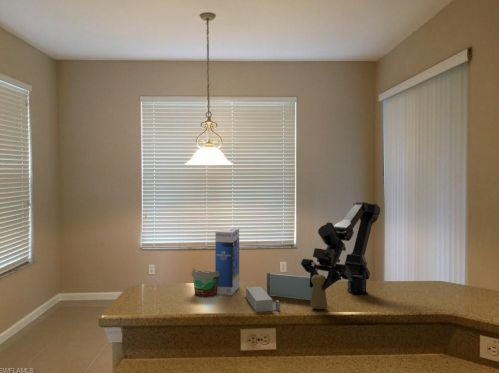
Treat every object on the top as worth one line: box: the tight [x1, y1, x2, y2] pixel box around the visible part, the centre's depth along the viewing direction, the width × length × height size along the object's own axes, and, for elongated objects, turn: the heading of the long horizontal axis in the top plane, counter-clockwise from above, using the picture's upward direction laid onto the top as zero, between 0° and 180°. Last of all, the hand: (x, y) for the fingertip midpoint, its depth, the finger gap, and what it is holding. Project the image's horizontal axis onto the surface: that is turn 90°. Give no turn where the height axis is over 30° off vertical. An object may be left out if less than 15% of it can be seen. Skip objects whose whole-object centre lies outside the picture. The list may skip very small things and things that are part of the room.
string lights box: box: [214, 227, 240, 296], centre depth 163 cm, size 13×8×26 cm, turn 168°
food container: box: [191, 268, 220, 298], centre depth 156 cm, size 12×6×10 cm, turn 68°
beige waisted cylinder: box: [310, 274, 328, 310], centre depth 138 cm, size 6×6×11 cm
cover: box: [270, 272, 313, 301], centre depth 152 cm, size 2×20×8 cm, turn 67°
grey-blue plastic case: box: [245, 272, 281, 313], centre depth 146 cm, size 10×20×9 cm, turn 12°
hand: (316, 288), depth 137 cm, fingers closed on beige waisted cylinder, 5 cm apart
